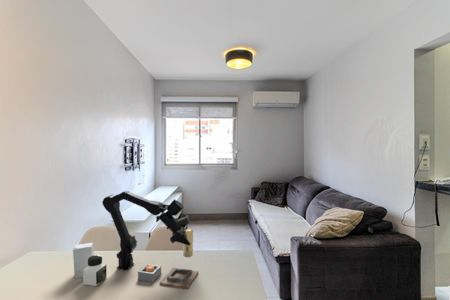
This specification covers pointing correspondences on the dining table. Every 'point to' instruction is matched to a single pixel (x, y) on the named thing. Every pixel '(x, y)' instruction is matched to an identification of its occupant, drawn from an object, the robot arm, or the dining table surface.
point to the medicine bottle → (94, 271)
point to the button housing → (149, 273)
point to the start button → (150, 268)
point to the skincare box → (81, 258)
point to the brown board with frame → (179, 278)
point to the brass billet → (188, 248)
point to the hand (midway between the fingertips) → (190, 242)
